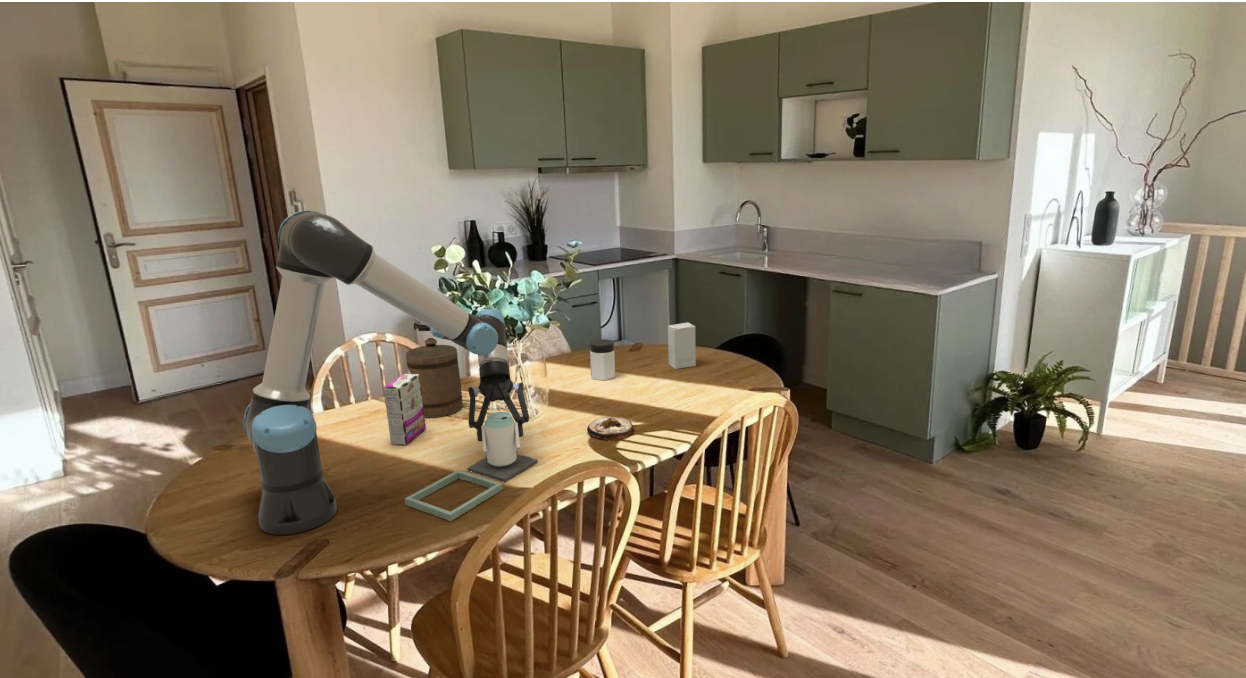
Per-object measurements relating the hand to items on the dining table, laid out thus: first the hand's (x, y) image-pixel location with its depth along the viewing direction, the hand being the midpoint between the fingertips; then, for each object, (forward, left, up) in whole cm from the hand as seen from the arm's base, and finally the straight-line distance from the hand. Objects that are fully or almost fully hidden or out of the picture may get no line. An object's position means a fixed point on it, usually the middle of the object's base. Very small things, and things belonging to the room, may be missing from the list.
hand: (501, 451), depth 164 cm
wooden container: (+22, +46, -6) cm, 52 cm away
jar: (+71, +19, -6) cm, 74 cm away
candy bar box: (+3, +37, -6) cm, 38 cm away
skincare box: (+94, +1, -6) cm, 95 cm away
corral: (-15, +1, -6) cm, 16 cm away
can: (+2, +2, -5) cm, 6 cm away
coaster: (+2, +2, -6) cm, 7 cm away
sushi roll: (+33, -9, -6) cm, 35 cm away
